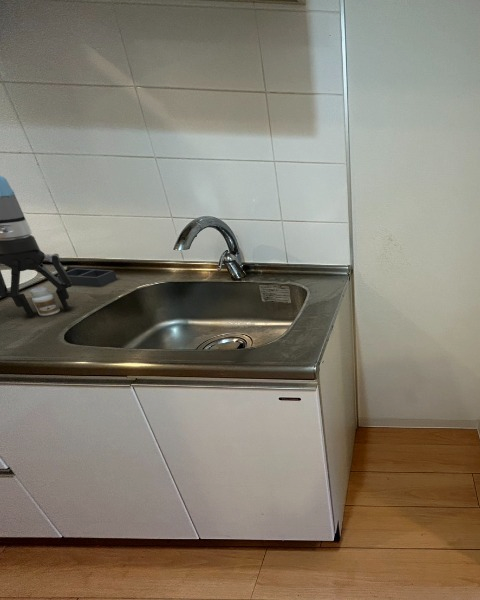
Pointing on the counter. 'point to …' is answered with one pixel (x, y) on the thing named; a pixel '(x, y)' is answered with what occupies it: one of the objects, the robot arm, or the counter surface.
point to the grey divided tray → (90, 277)
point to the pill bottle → (44, 301)
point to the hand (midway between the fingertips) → (49, 312)
